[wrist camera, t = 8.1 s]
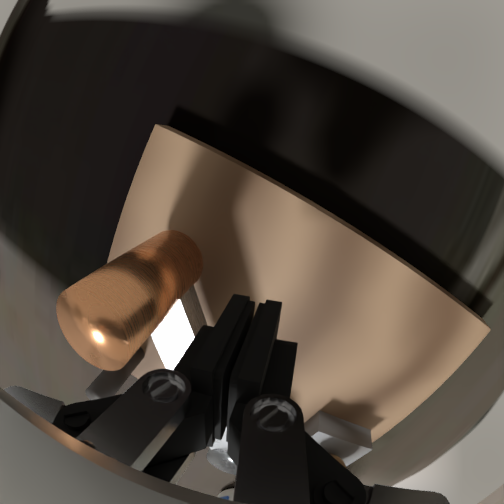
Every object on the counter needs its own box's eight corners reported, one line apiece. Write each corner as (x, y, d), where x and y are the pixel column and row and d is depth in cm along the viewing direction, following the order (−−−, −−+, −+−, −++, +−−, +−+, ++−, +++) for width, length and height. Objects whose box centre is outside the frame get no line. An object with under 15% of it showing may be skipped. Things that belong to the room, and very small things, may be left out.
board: (99, 335, 22) (50, 383, 16) (168, 125, 16) (88, 118, 9) (334, 455, 22) (330, 517, 16) (482, 318, 15) (527, 380, 9)
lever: (274, 450, 19) (257, 527, 12) (226, 448, 20) (200, 519, 13) (200, 222, 14) (112, 281, 7) (134, 238, 15) (39, 293, 9)
